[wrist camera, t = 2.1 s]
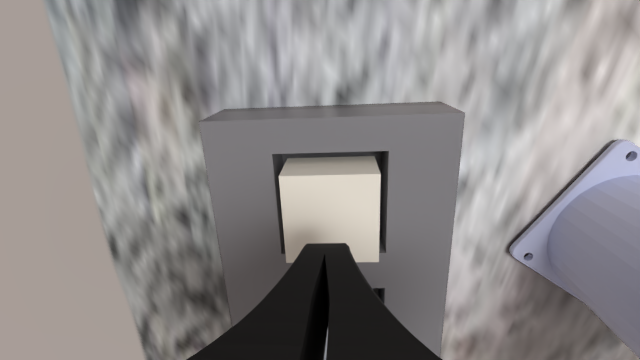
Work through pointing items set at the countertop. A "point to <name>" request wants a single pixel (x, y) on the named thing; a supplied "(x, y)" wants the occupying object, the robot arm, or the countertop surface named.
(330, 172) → the key cream
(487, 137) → the countertop surface
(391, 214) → the slotted grey tray
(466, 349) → the countertop surface
